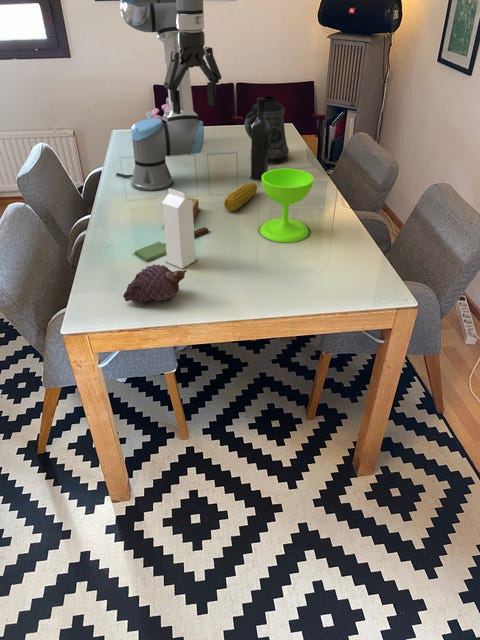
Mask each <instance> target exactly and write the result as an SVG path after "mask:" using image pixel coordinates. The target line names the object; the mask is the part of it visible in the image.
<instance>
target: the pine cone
mask: <svg viewBox="0 0 480 640" xmlns="http://www.w3.org/2000/svg"><path fill="white" fill-rule="evenodd" d="M186 272H187V269H184V270H174V271H172V270H171V269H169V267H167V266H165V265H164V264H162V265H161V264H155V263H154V264H152V265H149V266H146V267H145V268H142V269H141V271H140V272H138V273H136V274H135V277H134V279H133V280H132V281H131V282H130V283H128V284H127V287H126V290H125V292H124V293H123V296H122V297H123V299H124V301H125V302H130V301H131V302H133V303H135V302H137V303H139V302H144V303H145V302H149V301H150V302H152V300H154V301H156V302H161V301H166V300H169V299H170V298H173V297H174V295H176V294H178V292H179V291H180V282H181V281H182V280H184V279H185V278H186V277H185V276H186Z"/></svg>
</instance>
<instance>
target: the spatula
mask: <svg viewBox="0 0 480 640" xmlns="http://www.w3.org/2000/svg"><path fill="white" fill-rule="evenodd" d="M208 233H209V228H208V227H206V226H203V227H200V228H198V229H196V230H195V229H194V239H195V238H198V237H200V236H203V235H205V234H208ZM134 254H135V255H136V256H138V257H139V258H141V259H142V260H144V261H145V262H147V263H148V262H150V261H152V260H155V259H158V258H160V257H163V256H164V255H167V252H166V242H164V243H162V242H161V241H157V242H154V243H152V244H149V245H146V246H144V247H141V248H139V249H137V250H135V251H134Z"/></svg>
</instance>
